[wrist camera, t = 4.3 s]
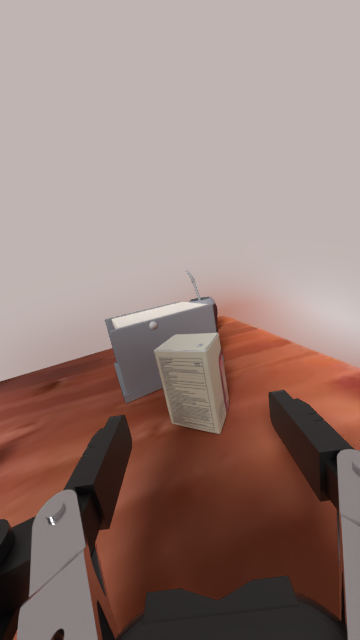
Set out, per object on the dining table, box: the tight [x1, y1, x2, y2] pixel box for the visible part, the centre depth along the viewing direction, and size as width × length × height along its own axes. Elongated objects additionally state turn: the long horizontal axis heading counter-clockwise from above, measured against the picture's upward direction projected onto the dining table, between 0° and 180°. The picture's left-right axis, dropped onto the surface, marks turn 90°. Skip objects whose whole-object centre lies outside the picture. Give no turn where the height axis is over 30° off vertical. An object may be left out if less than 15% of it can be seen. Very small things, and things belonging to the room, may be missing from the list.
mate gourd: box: [186, 271, 218, 332], centre depth 43 cm, size 8×8×15 cm
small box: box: [154, 333, 229, 434], centre depth 18 cm, size 5×4×8 cm
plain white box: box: [112, 302, 207, 329], centre depth 30 cm, size 13×9×6 cm
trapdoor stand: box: [105, 302, 224, 403], centre depth 30 cm, size 15×12×9 cm
